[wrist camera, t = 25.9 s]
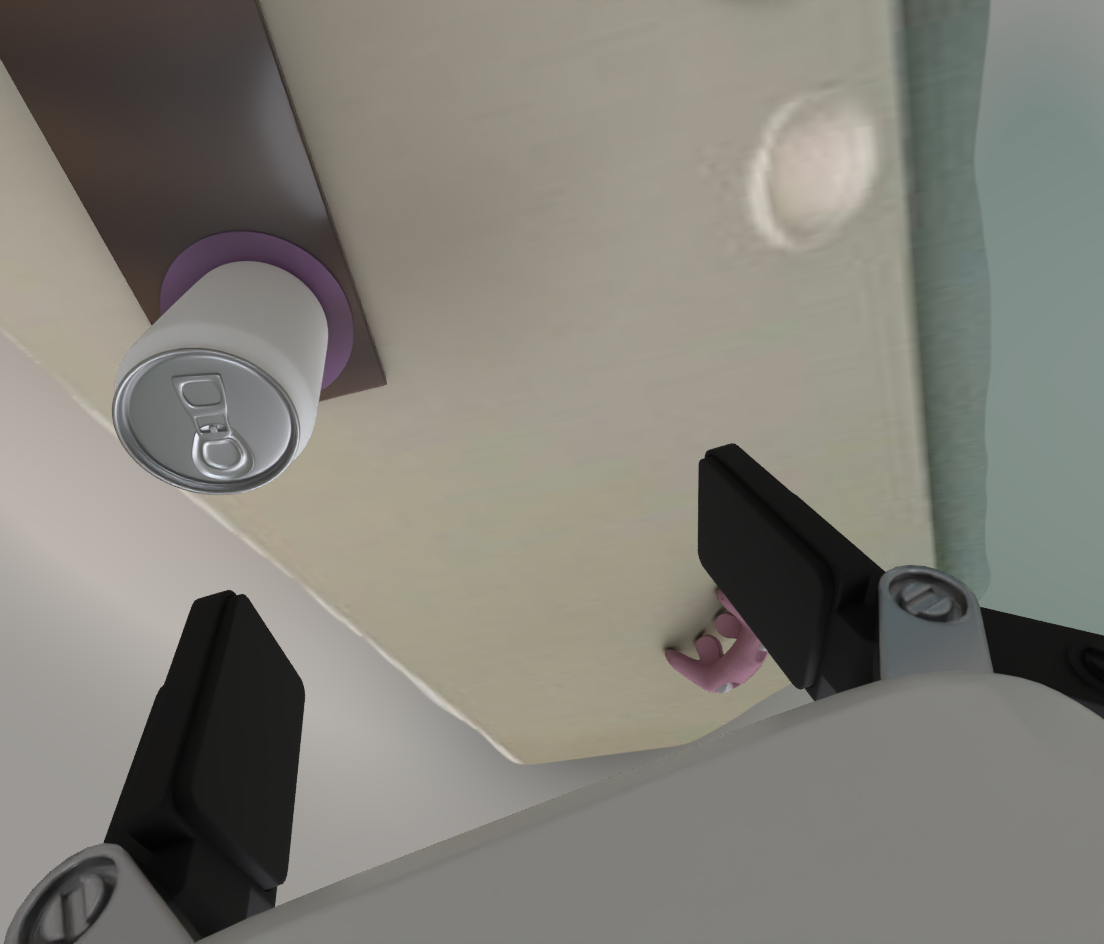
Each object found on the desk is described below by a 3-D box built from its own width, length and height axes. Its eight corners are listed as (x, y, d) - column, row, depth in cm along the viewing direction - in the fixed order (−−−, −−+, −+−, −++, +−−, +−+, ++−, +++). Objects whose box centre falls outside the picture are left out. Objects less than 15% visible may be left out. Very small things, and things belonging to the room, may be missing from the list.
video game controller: (676, 648, 59) (728, 703, 55) (657, 657, 55) (711, 716, 51) (735, 580, 55) (793, 633, 52) (719, 585, 52) (780, 642, 48)
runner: (-404, -683, 14) (-467, -748, 13) (33, -665, 15) (8, -722, 14) (213, 421, 32) (208, 431, 31) (386, 378, 33) (387, 387, 32)
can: (211, 387, 30) (138, 517, 20) (170, 260, 26) (57, 342, 17) (338, 377, 31) (328, 492, 22) (316, 256, 28) (290, 328, 18)
